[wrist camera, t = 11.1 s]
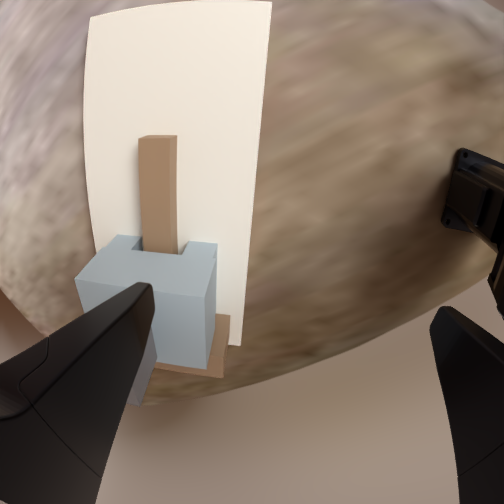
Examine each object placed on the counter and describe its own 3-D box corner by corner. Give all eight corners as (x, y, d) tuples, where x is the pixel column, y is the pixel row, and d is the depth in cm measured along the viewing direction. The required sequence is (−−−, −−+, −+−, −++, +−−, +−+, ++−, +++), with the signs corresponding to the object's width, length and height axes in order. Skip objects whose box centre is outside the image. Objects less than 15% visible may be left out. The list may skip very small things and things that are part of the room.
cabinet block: (220, 243, 20) (188, 355, 12) (218, 311, 23) (196, 421, 14) (115, 234, 20) (39, 322, 12) (125, 298, 23) (74, 391, 15)
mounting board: (271, 9, 14) (273, -26, 9) (241, 334, 26) (235, 387, 21) (100, 20, 14) (51, 6, 9) (119, 316, 26) (94, 361, 21)
